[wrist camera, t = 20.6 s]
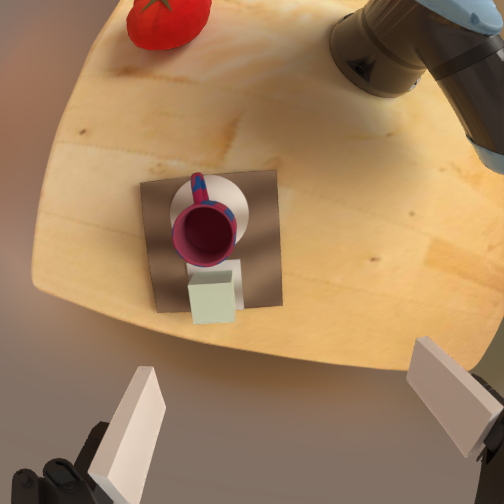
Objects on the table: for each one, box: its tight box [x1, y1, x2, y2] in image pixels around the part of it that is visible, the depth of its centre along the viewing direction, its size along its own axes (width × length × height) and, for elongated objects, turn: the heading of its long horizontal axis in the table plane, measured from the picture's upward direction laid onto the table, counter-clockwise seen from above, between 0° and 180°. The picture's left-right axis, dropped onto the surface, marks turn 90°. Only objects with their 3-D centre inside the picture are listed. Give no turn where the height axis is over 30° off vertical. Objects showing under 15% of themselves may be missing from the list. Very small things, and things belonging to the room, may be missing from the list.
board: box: [140, 170, 283, 313], centre depth 37 cm, size 18×18×2 cm
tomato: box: [126, 0, 212, 50], centre depth 25 cm, size 11×13×10 cm
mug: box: [172, 172, 237, 267], centre depth 32 cm, size 7×10×7 cm
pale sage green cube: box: [188, 270, 236, 324], centre depth 35 cm, size 5×5×5 cm
